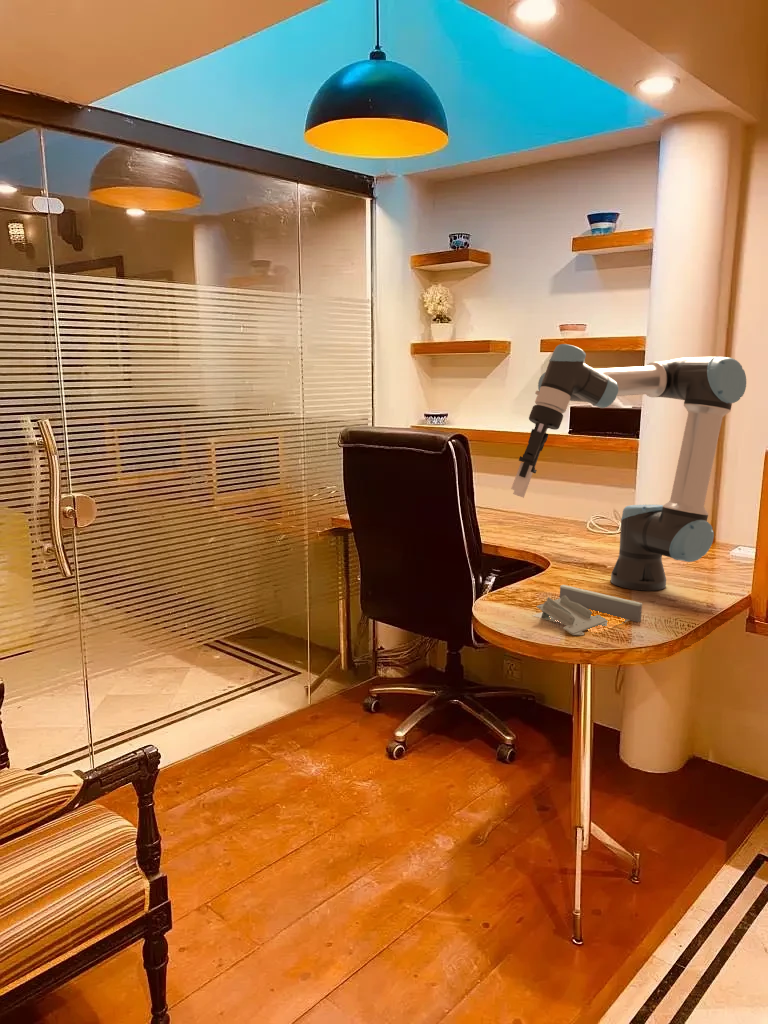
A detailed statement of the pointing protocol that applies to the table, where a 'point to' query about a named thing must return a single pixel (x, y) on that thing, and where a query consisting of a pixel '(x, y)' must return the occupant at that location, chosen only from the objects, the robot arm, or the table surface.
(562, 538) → the table surface
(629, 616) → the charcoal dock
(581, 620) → the metal bracket
